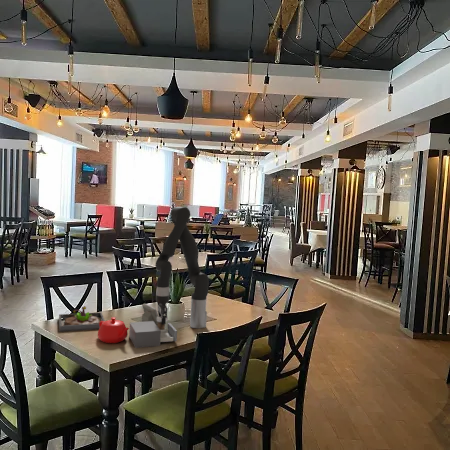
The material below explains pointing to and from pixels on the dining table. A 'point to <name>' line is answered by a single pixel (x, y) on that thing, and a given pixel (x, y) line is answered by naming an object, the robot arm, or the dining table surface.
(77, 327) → the rectangular frame
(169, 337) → the grey drawer box
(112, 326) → the teapot
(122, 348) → the dining table surface
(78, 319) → the miniature garden
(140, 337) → the housing
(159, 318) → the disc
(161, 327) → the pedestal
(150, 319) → the grey tissue
